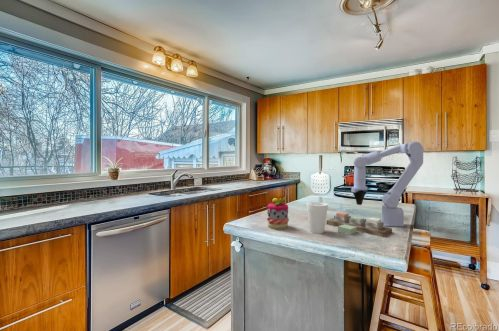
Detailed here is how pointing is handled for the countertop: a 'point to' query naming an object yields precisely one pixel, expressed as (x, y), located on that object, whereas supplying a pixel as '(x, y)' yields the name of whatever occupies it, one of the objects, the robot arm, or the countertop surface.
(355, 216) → the sage button
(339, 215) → the terracotta button
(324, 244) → the countertop surface
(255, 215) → the countertop surface
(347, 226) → the block
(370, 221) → the cream button
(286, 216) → the cake
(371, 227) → the button console
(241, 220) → the countertop surface
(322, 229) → the foam cup
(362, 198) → the robot arm
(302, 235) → the countertop surface
